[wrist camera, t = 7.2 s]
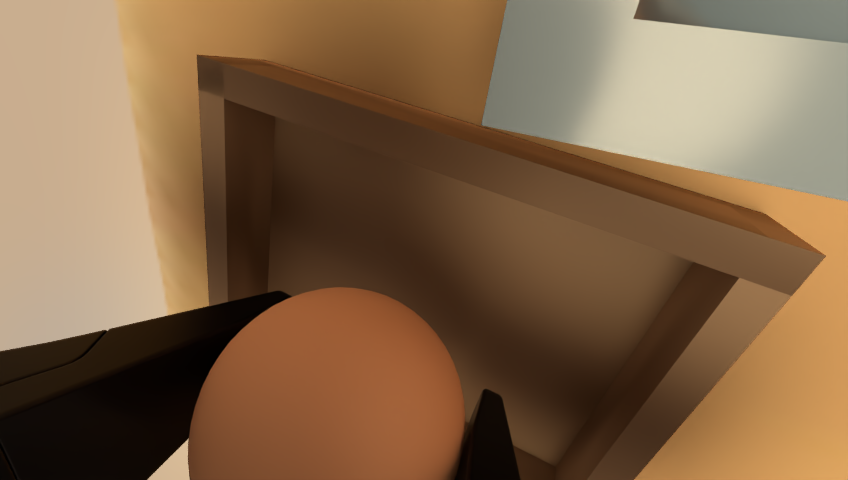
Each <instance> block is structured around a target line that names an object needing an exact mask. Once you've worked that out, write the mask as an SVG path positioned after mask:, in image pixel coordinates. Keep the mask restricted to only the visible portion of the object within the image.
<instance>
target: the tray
mask: <svg viewBox="0 0 848 480" xmlns="http://www.w3.org/2000/svg"><path fill="white" fill-rule="evenodd" d="M197 67H198V87H199V107H200V128H201V148H202V168H203V188H204V209H205V229H206V249H207V270H208V290H209V306H212V305H216V304H220V303H225V302H229V301H233V300H238V299H242V298H246V297H251V296H255V295H259V294H264V293H268V292H272V291H278V290H280V291H283V292H285V293H287V294H289V295H291V296H293V297H294V296H296V295H299V294H302V293H305V292H309V291H314V290H318V289H324V288H334V287H345V288H358V289H364V290H369V291H373V292H377V293H380V294H383V295H386V296H388V297H390V298H392V299H394V300H397V301H399V302H400V303H402V304H403V305H405V306H407V307H408V308H410V309H411V310H413V311H414V312H415V313H416V314H417V315H419V316H420V317H421V318H422V319H423V320H424V321H426V322H427V323H428V325H429V326H430V327H431V328H432V329H433V330H434V331H435V332H436V334H437V335H438V336H439V338H440V339H441V341H442V342H443V344H444V345H445V347H446V349H447V351H448V352H449V354H450V356H451V358H452V360H453V362H454V365H455V368H456V371H457V373H458V376H459V379H460V384H461V388H462V392H463V398H464V407H465V432H466V429H467V427H468V424H469V421H470V418H471V416H472V413H473V411H474V409H475V406H476V404H477V402H478V399H479V397H480V395H481V393H482V391H483V390H484V389H489V390H491V391H493V392H495V393H497V394H499V395H501V397H502V399H503V403H504V407H505V412H506V416H507V421H508V425H509V430H510V434H511V439H512V443H513V448H514V452H515V456H516V461H517V465H518V470H519V474H520V479H521V480H634V479H635V478H636V477H637V475H638V474H639V473H640V472H641V471H642V470H643V468H644V467H645V466H646V465H647V464H648V463H649V461H650V460H651V459H652V458H653V457H654V456H655V454H656V453H657V452H658V451H659V450H660V449H661V447H662V446H663V445H664V444H665V443H666V442H667V440H668V439H669V438H670V437H671V436H672V435H673V433H674V432H675V431H676V430H677V429H678V428H679V426H680V425H681V424H682V423H683V422H684V421H685V420H686V418H687V417H688V416H689V415H690V414H691V413H692V411H693V410H694V409H695V408H696V407H697V406H698V404H699V403H700V402H701V401H702V400H703V399H704V397H705V396H706V395H707V394H708V393H709V392H710V390H711V389H712V388H713V387H714V386H715V385H716V383H717V382H718V381H719V380H720V379H721V378H722V376H723V375H724V374H725V373H726V372H727V371H728V369H729V368H730V367H731V366H732V365H733V364H734V362H735V361H736V360H737V359H738V358H739V357H740V356H741V354H742V353H743V352H744V351H745V350H746V349H747V347H748V346H749V345H750V344H751V343H752V342H753V340H754V339H755V338H756V337H757V336H758V335H759V333H760V332H761V331H762V330H763V329H764V328H765V326H766V325H767V324H768V323H769V322H770V321H771V319H772V318H773V317H774V316H775V315H776V314H777V312H778V311H779V310H780V309H781V308H782V307H783V305H784V304H785V303H786V302H787V301H788V300H789V299H790V297H791V296H792V295H793V294H794V293H795V292H796V290H797V289H798V288H799V287H800V286H801V285H802V283H803V282H804V281H805V280H806V279H807V278H808V276H809V275H810V274H811V273H812V272H813V271H814V269H815V268H816V267H817V266H818V265H819V264H820V262H821V261H822V260H823V259H824V258H825V257H826V256H825V255H824V254H822V253H821V252H820V251H818V250H817V249H815V248H814V247H812V246H811V245H809V244H808V243H807V242H805V241H804V240H802V239H801V238H799V237H798V236H796V235H795V234H794V233H792V232H791V231H789V230H788V229H786V228H785V227H783V226H782V225H781V224H779V223H778V222H776V221H775V220H773V219H772V218H770V217H769V216H768V215H766V214H764V213H760V212H757V211H754V210H751V209H747V208H744V207H741V206H738V205H734V204H731V203H728V202H725V201H721V200H718V199H715V198H712V197H708V196H705V195H702V194H698V193H695V192H692V191H689V190H685V189H682V188H679V187H676V186H672V185H669V184H666V183H663V182H659V181H656V180H653V179H650V178H646V177H643V176H640V175H637V174H633V173H630V172H627V171H624V170H620V169H617V168H614V167H611V166H607V165H604V164H601V163H598V162H594V161H591V160H588V159H585V158H581V157H578V156H575V155H572V154H568V153H565V152H562V151H559V150H555V149H552V148H549V147H546V146H542V145H539V144H536V143H533V142H529V141H526V140H523V139H520V138H516V137H513V136H510V135H507V134H503V133H500V132H497V131H494V130H490V129H487V128H484V127H481V126H477V125H474V124H471V123H468V122H464V121H461V120H458V119H455V118H451V117H448V116H445V115H442V114H438V113H435V112H432V111H429V110H425V109H422V108H419V107H416V106H412V105H409V104H406V103H403V102H399V101H396V100H393V99H390V98H386V97H383V96H380V95H376V94H373V93H370V92H367V91H363V90H360V89H357V88H354V87H350V86H347V85H344V84H341V83H337V82H334V81H331V80H328V79H324V78H321V77H318V76H315V75H311V74H308V73H305V72H302V71H298V70H295V69H292V68H289V67H285V66H282V65H279V64H276V63H272V62H269V61H266V60H258V59H245V58H232V57H219V56H206V55H197Z"/></svg>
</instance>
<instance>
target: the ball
mask: <svg viewBox="0 0 848 480" xmlns="http://www.w3.org/2000/svg"><path fill="white" fill-rule="evenodd" d="M464 437H465V407H464V398H463V392H462V388H461V384H460V379H459V376H458V373H457V371H456V368H455V365H454V362H453V360H452V358H451V356H450V354H449V352H448V351H447V349H446V347H445V345H444V344H443V342H442V341H441V339H440V338H439V336H438V335H437V334H436V332H435V331H434V330H433V329H432V328H431V327H430V326H429V325H428V323H427V322H426V321H424V320H423V319H422V318H421V317H420V316H419V315H417V314H416V313H415V312H414V311H413V310H411V309H410V308H408V307H407V306H405V305H403V304H402V303H400V302H399V301H397V300H394V299H392V298H390V297H388V296H386V295H383V294H380V293H377V292H373V291H369V290H364V289H358V288H345V287H334V288H324V289H318V290H314V291H309V292H305V293H302V294H299V295H296V296H294V297H291V298H288V299H286V300H284V301H282V302H280V303H278V304H276V305H274V306H272V307H271V308H269V309H268V310H266V311H264V312H263V313H261V314H260V315H259V316H257V317H256V318H255V319H254V320H252V321H251V322H250V323H249V324H248V325H246V326H245V327H244V328H243V329H242V330H241V331H240V332H239V333H238V334H237V335H236V336H235V337H234V338H233V339H232V340H231V341H230V342H229V344H228V345H227V346H226V347H225V349H224V350H223V351H222V353H221V354H220V355H219V357H218V358H217V360H216V362H215V363H214V365H213V366H212V368H211V370H210V372H209V374H208V376H207V378H206V380H205V382H204V384H203V386H202V389H201V391H200V394H199V397H198V399H197V402H196V405H195V409H194V413H193V417H192V421H191V426H190V433H189V442H188V465H189V476H190V480H455V477H456V475H457V471H458V467H459V463H460V459H461V456H462V451H463V444H464Z"/></svg>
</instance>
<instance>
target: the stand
mask: <svg viewBox="0 0 848 480" xmlns="http://www.w3.org/2000/svg"><path fill="white" fill-rule="evenodd" d="M481 125H482V126H487V127H492V128H497V129H502V130H506V131H511V132H516V133H521V134H526V135H531V136H535V137H540V138H545V139H550V140H555V141H559V142H564V143H569V144H574V145H579V146H583V147H588V148H593V149H598V150H603V151H608V152H612V153H617V154H622V155H627V156H632V157H636V158H641V159H646V160H651V161H656V162H661V163H665V164H670V165H675V166H680V167H685V168H689V169H694V170H699V171H704V172H709V173H714V174H718V175H723V176H728V177H733V178H738V179H742V180H747V181H752V182H757V183H762V184H767V185H771V186H776V187H781V188H786V189H791V190H795V191H800V192H805V193H810V194H815V195H820V196H824V197H829V198H834V199H839V200H844V201H848V0H507V4H506V9H505V14H504V18H503V23H502V28H501V33H500V38H499V42H498V47H497V52H496V57H495V62H494V66H493V71H492V76H491V81H490V85H489V90H488V95H487V100H486V105H485V109H484V114H483V119H482V124H481Z"/></svg>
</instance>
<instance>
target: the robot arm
mask: <svg viewBox="0 0 848 480" xmlns="http://www.w3.org/2000/svg"><path fill="white" fill-rule="evenodd" d="M291 297H293V296H291V295H289V294H287V293H285V292H283V291H280V290H278V291H272V292H268V293H264V294H259V295H255V296H251V297H246V298H242V299H238V300H233V301H229V302H225V303H220V304H216V305H212V306H207V307H203V308H199V309H194V310H190V311H185V312H181V313H177V314H172V315H168V316H164V317H159V318H156V319H151V320H147V321H142V322H138V323H133V324H129V325H125V326H121V327H116V328H112V329H109V330H108V331H106V330H102V331H98V332H94V333H89V334H85V335H81V336H76V337H71V338H66V339H62V340H57V341H53V342H48V343H42V344H37V345H32V346H26V347H21V348H16V349H11V350H5V351H0V480H147V479H148V478H149V477H150V476H151V475H152V474H153V473H154V472H155V471H156V470H157V469H158V468H159V467H160V466H161V465H162V464H163V463H164V462H165V461H166V460H167V459H168V458H169V457H170V456H171V455H172V454H173V453H174V452H175V451H176V450H177V449H178V448H179V447H180V446H181V445H182V444H183V443H184V442H185V441H186V440H187V439H188V438H189V433H190V426H191V421H192V417H193V413H194V409H195V405H196V402H197V399H198V397H199V394H200V391H201V389H202V386H203V384H204V382H205V380H206V378H207V376H208V374H209V372H210V370H211V368H212V366H213V365H214V363H215V362H216V360H217V358H218V357H219V355H220V354H221V353H222V351H223V350H224V349H225V347H226V346H227V345H228V344H229V342H230V341H231V340H232V339H233V338H234V337H235V336H236V335H237V334H238V333H239V332H240V331H241V330H242V329H243V328H244V327H245V326H246V325H248V324H249V323H250V322H251V321H252V320H254V319H255V318H256V317H257V316H259V315H260V314H261V313H263V312H264V311H266V310H268V309H269V308H271V307H272V306H274V305H276V304H278V303H280V302H282V301H284V300H286V299H288V298H291ZM455 480H521V479H520V474H519V470H518V465H517V461H516V456H515V452H514V448H513V443H512V439H511V434H510V430H509V425H508V421H507V416H506V412H505V407H504V403H503V399H502V397H501V395H499V394H497V393H495V392H493V391H491V390H489V389H484V390H483V391H482V393H481V395H480V397H479V399H478V402H477V404H476V406H475V409H474V411H473V413H472V416H471V418H470V421H469V424H468V427H467V429H466V432H465V437H464V444H463V451H462V456H461V459H460V463H459V467H458V471H457V475H456V477H455Z"/></svg>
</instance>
